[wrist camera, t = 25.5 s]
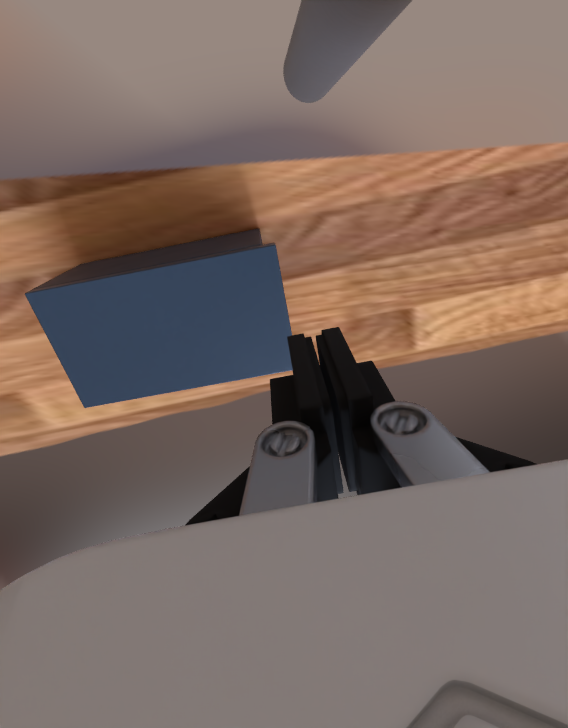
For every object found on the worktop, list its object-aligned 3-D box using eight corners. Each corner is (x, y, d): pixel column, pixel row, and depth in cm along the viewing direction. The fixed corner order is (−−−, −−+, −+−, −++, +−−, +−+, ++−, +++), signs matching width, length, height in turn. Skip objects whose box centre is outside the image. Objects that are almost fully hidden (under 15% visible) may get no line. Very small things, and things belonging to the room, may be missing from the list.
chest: (259, 228, 31) (261, 243, 24) (278, 326, 35) (285, 363, 28) (80, 264, 31) (31, 289, 24) (120, 357, 35) (89, 401, 28)
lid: (274, 242, 24) (275, 244, 23) (297, 364, 28) (298, 369, 27) (31, 289, 24) (24, 293, 23) (88, 402, 28) (84, 408, 28)
